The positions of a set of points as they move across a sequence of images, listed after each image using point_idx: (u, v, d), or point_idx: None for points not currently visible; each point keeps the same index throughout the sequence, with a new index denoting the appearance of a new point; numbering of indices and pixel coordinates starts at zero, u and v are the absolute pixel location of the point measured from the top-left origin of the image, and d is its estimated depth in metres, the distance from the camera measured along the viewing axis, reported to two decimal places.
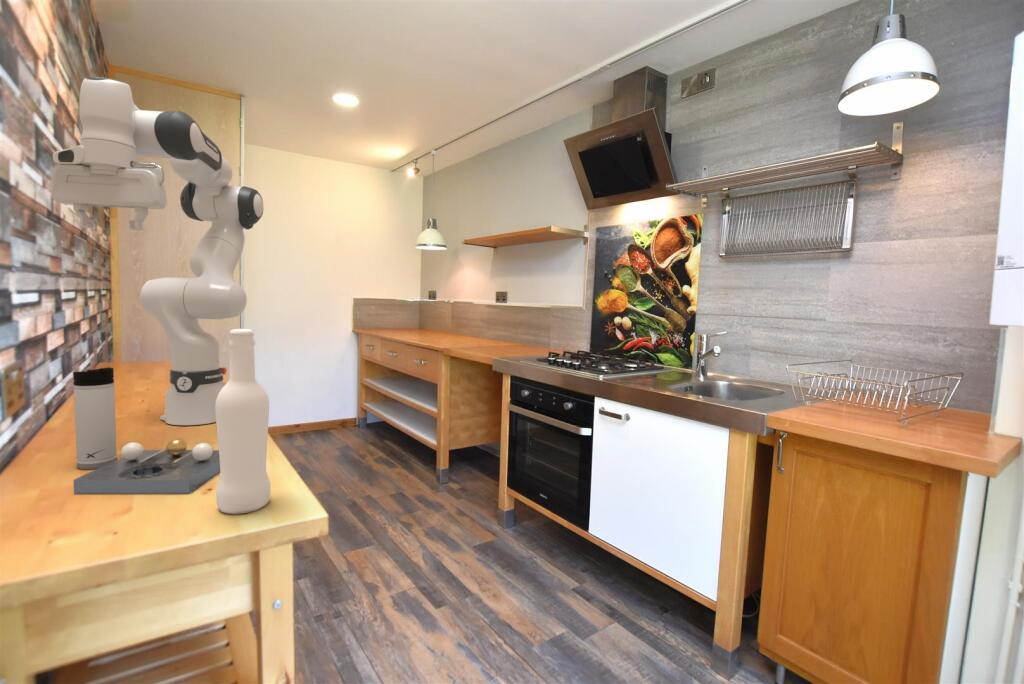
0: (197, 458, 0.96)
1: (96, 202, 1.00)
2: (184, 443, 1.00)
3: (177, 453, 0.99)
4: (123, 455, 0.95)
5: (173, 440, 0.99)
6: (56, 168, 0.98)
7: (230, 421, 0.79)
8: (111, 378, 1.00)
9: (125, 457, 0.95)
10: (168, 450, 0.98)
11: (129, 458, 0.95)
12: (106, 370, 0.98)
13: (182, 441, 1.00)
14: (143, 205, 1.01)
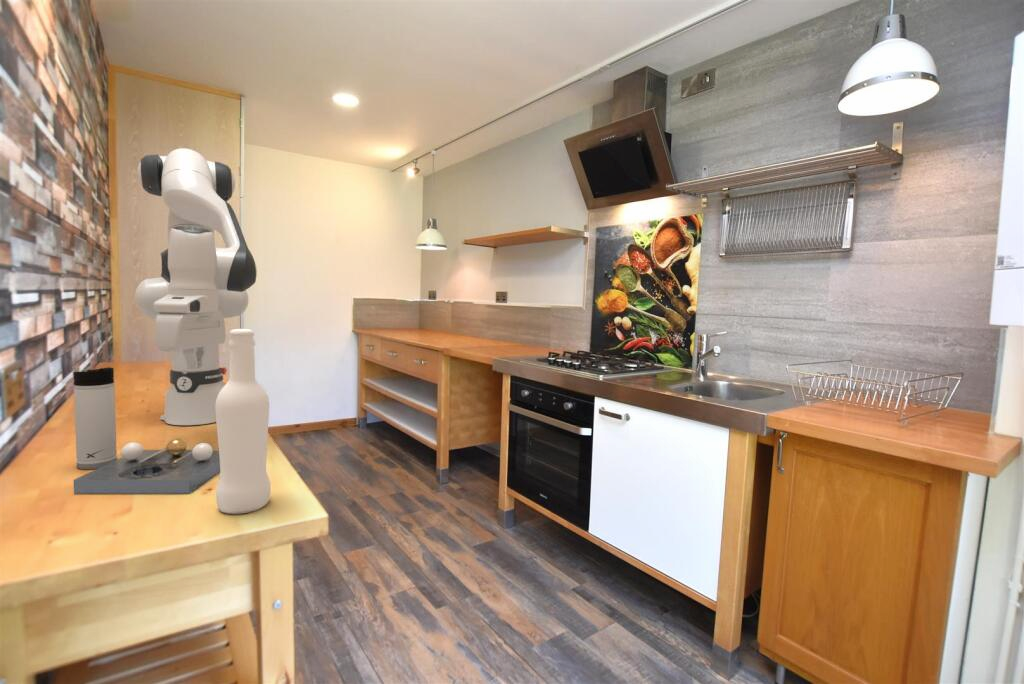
0: (197, 458, 0.96)
1: (199, 346, 1.04)
2: (184, 443, 1.00)
3: (177, 453, 0.99)
4: (123, 455, 0.95)
5: (173, 440, 0.99)
6: (184, 318, 0.97)
7: (230, 421, 0.79)
8: (111, 378, 1.00)
9: (125, 457, 0.95)
10: (168, 450, 0.98)
11: (129, 458, 0.95)
12: (106, 370, 0.98)
13: (182, 441, 1.00)
14: (219, 343, 1.13)
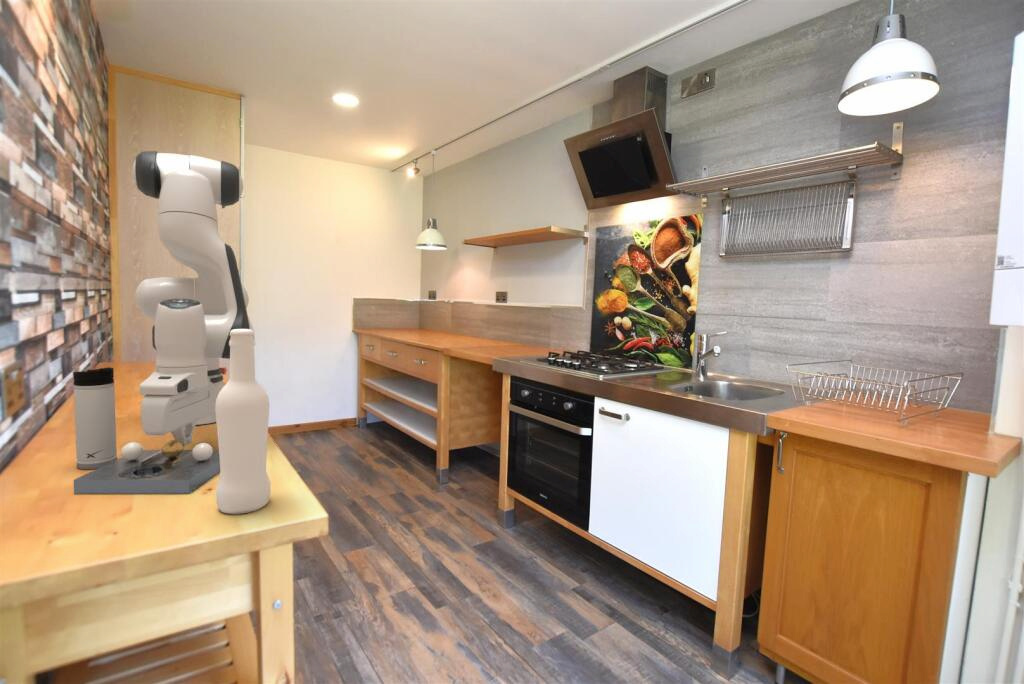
0: (197, 458, 0.96)
1: (187, 423, 1.00)
2: (179, 447, 0.98)
3: (176, 456, 0.99)
4: (123, 455, 0.95)
5: (166, 448, 0.97)
6: (171, 400, 0.93)
7: (230, 421, 0.79)
8: (111, 378, 1.00)
9: (125, 457, 0.95)
10: (166, 456, 0.98)
11: (129, 458, 0.95)
12: (106, 370, 0.98)
13: (176, 446, 0.98)
14: (209, 414, 1.09)
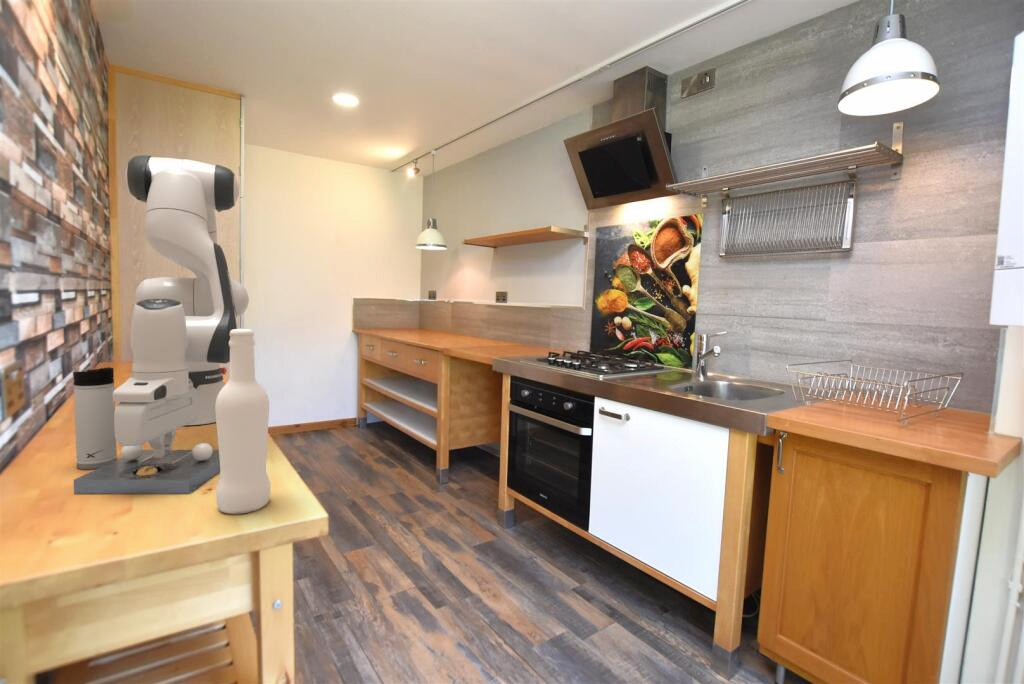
0: (197, 458, 0.96)
1: (166, 432, 0.93)
2: (155, 472, 0.91)
3: None
4: (123, 455, 0.95)
5: (142, 469, 0.90)
6: (147, 408, 0.86)
7: (230, 422, 0.79)
8: (111, 378, 1.00)
9: (125, 457, 0.95)
10: None
11: (129, 458, 0.95)
12: (106, 370, 0.98)
13: (152, 470, 0.91)
14: (192, 421, 1.02)
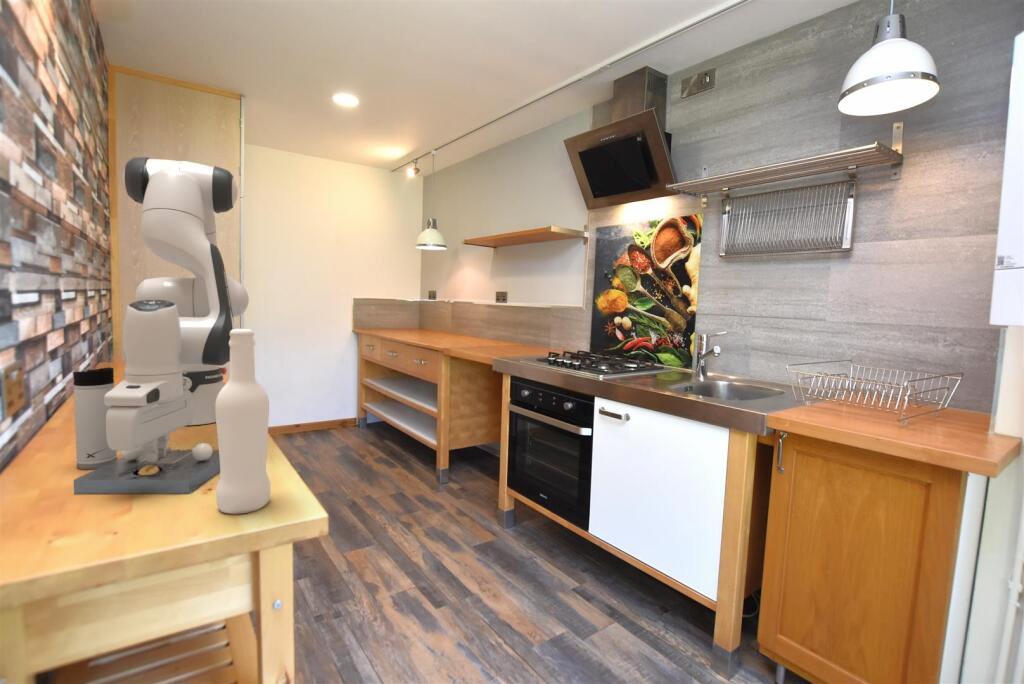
0: (197, 458, 0.96)
1: (160, 436, 0.92)
2: (158, 470, 0.92)
3: None
4: (123, 455, 0.95)
5: (146, 467, 0.91)
6: (140, 412, 0.85)
7: (230, 422, 0.79)
8: (111, 378, 1.00)
9: (125, 457, 0.95)
10: None
11: (129, 458, 0.95)
12: (106, 370, 0.98)
13: (156, 468, 0.91)
14: (186, 424, 1.01)
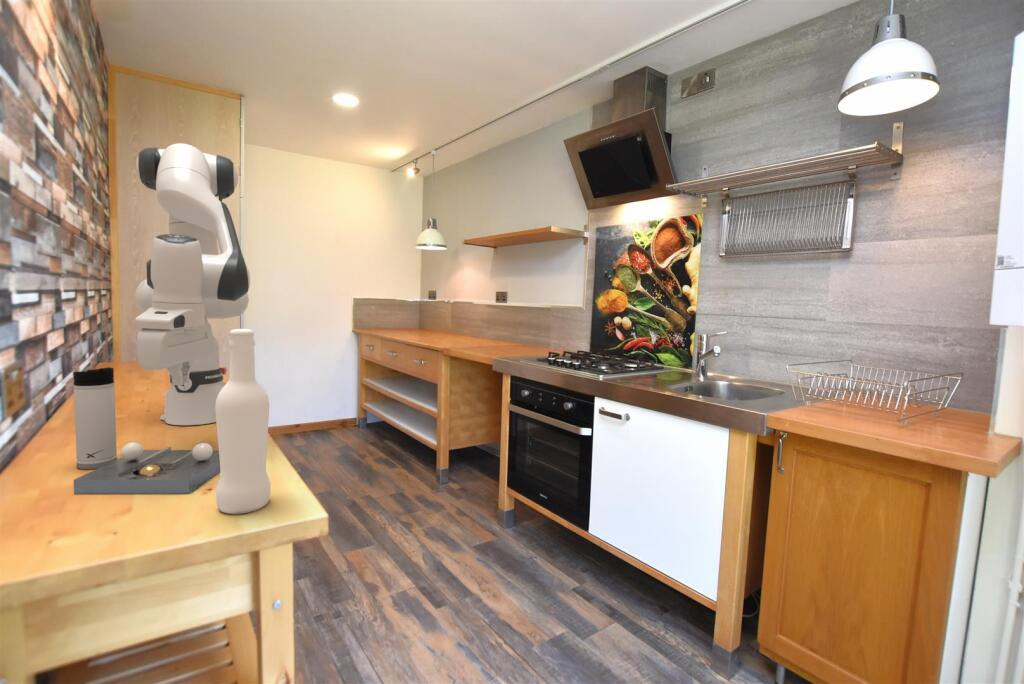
0: (197, 458, 0.96)
1: (184, 361, 0.99)
2: (159, 469, 0.92)
3: None
4: (123, 455, 0.95)
5: (148, 465, 0.92)
6: (167, 335, 0.92)
7: (230, 422, 0.79)
8: (111, 378, 1.00)
9: (125, 457, 0.95)
10: None
11: (129, 458, 0.95)
12: (106, 370, 0.98)
13: (158, 467, 0.92)
14: (207, 355, 1.08)
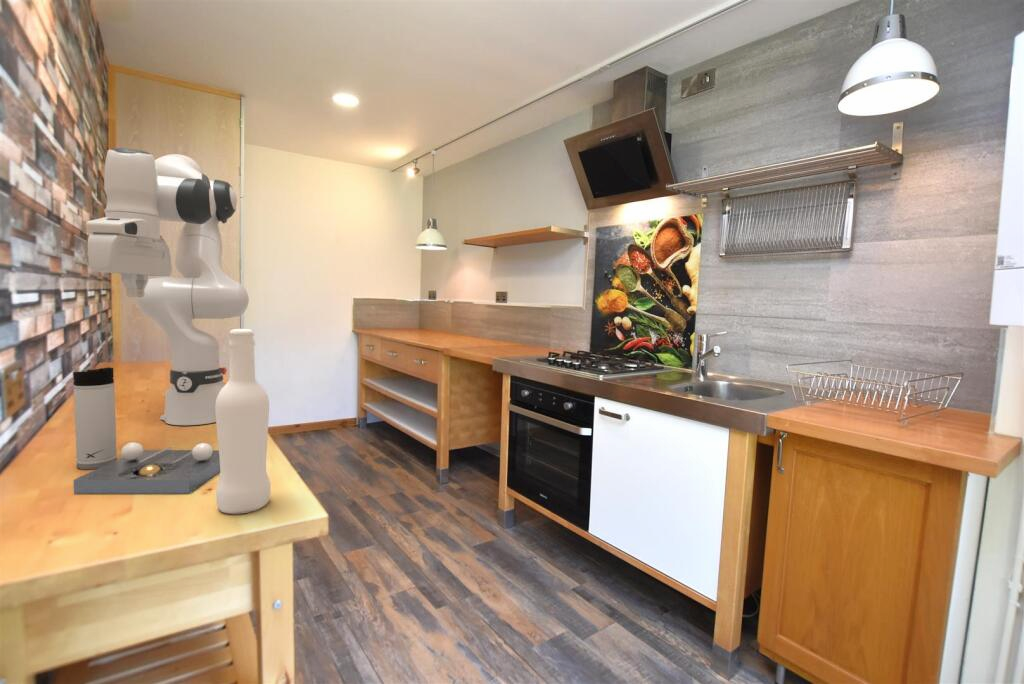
0: (197, 458, 0.96)
1: (138, 272, 1.01)
2: (159, 469, 0.92)
3: None
4: (123, 455, 0.95)
5: (148, 465, 0.92)
6: (118, 238, 0.94)
7: (230, 422, 0.79)
8: (111, 378, 1.00)
9: (125, 457, 0.95)
10: None
11: (129, 458, 0.95)
12: (106, 370, 0.98)
13: (157, 467, 0.92)
14: (164, 275, 1.10)
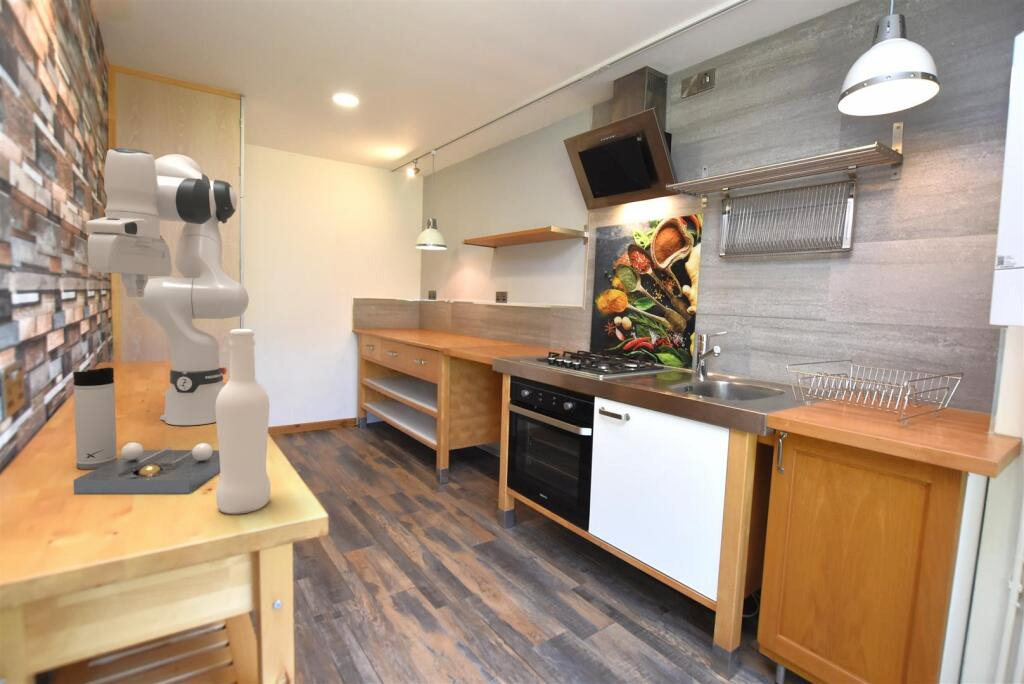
0: (197, 458, 0.96)
1: (138, 272, 1.01)
2: (159, 470, 0.92)
3: None
4: (123, 455, 0.95)
5: (148, 465, 0.91)
6: (118, 238, 0.94)
7: (230, 422, 0.79)
8: (111, 378, 1.00)
9: (125, 457, 0.95)
10: None
11: (129, 458, 0.95)
12: (106, 370, 0.98)
13: (157, 467, 0.92)
14: (164, 275, 1.10)
